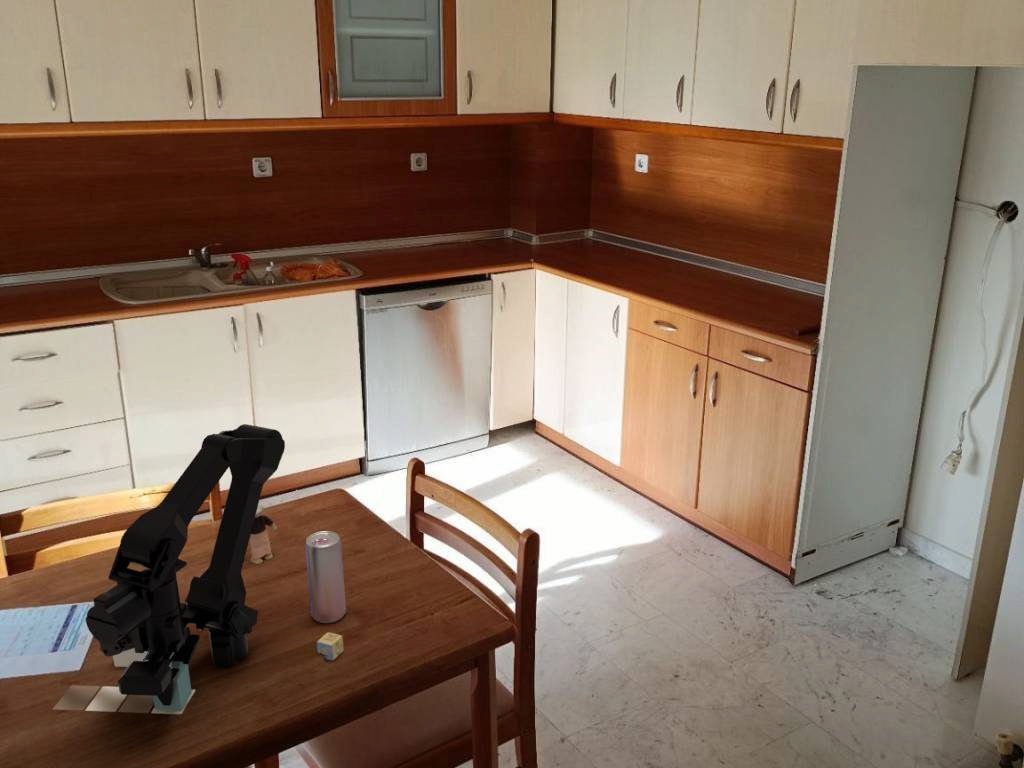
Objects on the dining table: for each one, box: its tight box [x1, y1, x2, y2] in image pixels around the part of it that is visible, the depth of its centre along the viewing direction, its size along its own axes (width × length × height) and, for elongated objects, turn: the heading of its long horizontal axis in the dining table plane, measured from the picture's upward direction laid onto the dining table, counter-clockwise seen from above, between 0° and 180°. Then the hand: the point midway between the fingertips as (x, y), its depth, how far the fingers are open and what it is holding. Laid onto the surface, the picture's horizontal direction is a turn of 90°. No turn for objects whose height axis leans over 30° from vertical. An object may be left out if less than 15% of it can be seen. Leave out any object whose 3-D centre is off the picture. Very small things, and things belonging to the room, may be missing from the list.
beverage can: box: [304, 530, 347, 624], centre depth 161 cm, size 6×6×15 cm
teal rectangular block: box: [153, 661, 192, 710], centre depth 140 cm, size 4×4×6 cm
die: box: [112, 648, 148, 668], centre depth 151 cm, size 4×4×5 cm
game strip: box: [52, 684, 196, 715], centre depth 142 cm, size 9×20×1 cm, turn 87°
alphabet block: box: [316, 632, 344, 661], centre depth 153 cm, size 3×3×3 cm
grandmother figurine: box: [249, 499, 278, 565], centre depth 180 cm, size 8×4×13 cm, turn 144°
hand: (172, 695), depth 141 cm, fingers closed on teal rectangular block, 4 cm apart
